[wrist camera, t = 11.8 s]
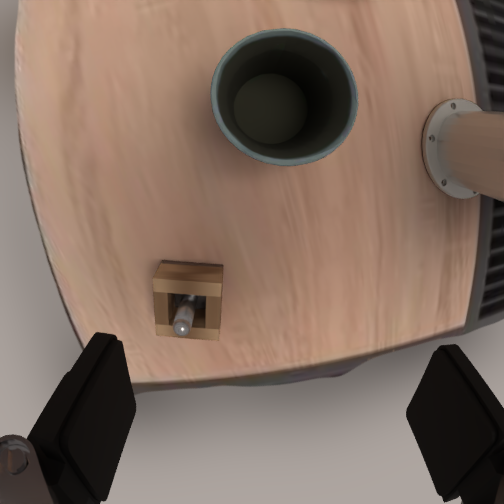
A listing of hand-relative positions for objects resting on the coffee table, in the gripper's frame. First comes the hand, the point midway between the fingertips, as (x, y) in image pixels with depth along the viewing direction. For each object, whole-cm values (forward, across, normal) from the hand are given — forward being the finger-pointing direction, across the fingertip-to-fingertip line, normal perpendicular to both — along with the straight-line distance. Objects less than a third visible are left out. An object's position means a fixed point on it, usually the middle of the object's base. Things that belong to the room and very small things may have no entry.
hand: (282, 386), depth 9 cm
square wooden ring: (+26, +7, +12) cm, 29 cm away
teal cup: (+28, 0, -9) cm, 29 cm away
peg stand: (+27, +7, +12) cm, 30 cm away
